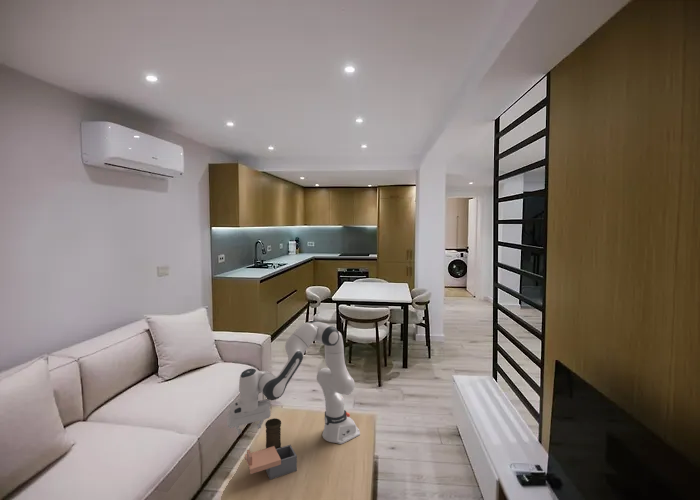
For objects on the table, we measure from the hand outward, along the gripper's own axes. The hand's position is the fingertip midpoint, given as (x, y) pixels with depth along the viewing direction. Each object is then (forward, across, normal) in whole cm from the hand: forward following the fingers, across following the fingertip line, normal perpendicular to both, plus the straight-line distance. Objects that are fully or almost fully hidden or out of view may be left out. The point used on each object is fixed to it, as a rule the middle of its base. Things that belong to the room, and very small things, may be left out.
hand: (249, 430), depth 172 cm
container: (+26, -15, -13) cm, 32 cm away
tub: (+25, -15, 0) cm, 29 cm away
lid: (+18, -6, 0) cm, 19 cm away
